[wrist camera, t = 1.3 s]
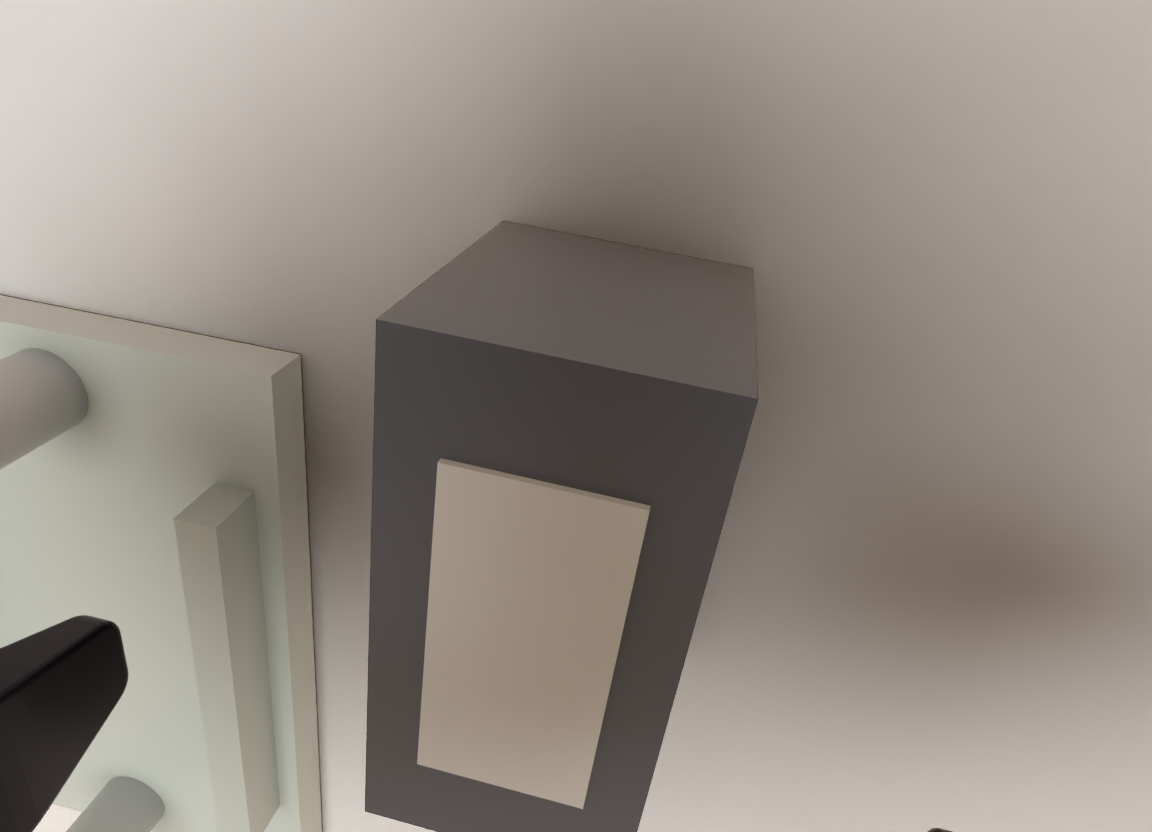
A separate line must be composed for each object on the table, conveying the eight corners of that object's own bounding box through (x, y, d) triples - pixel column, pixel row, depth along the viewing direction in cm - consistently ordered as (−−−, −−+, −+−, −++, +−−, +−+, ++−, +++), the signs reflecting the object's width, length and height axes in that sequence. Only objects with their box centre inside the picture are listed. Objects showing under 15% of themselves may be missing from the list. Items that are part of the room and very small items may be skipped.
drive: (752, 267, 12) (757, 403, 8) (656, 646, 16) (621, 889, 11) (505, 219, 13) (372, 322, 8) (468, 600, 16) (362, 817, 12)
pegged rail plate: (300, 354, 14) (100, 499, 10) (322, 838, 21) (208, 1056, 16) (-129, 269, 15) (-486, 365, 11) (19, 754, 22) (-166, 939, 17)
